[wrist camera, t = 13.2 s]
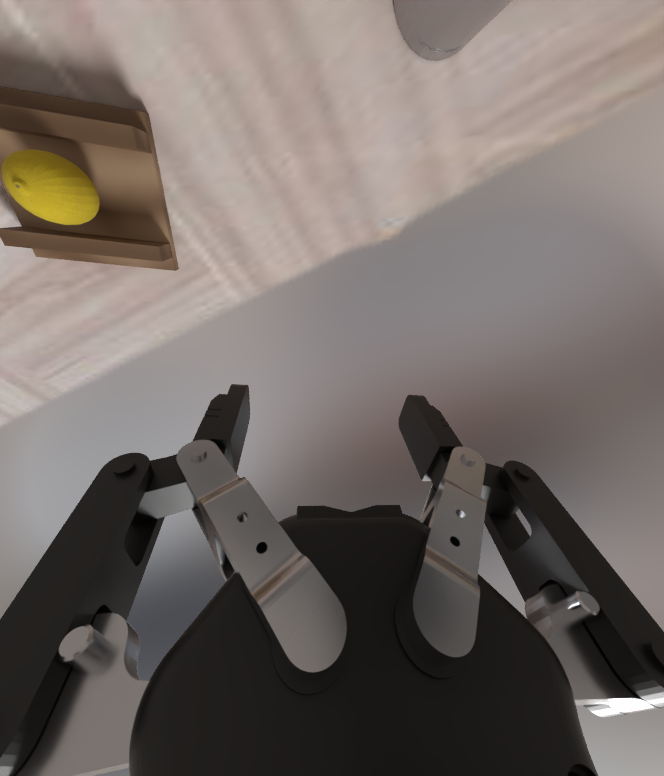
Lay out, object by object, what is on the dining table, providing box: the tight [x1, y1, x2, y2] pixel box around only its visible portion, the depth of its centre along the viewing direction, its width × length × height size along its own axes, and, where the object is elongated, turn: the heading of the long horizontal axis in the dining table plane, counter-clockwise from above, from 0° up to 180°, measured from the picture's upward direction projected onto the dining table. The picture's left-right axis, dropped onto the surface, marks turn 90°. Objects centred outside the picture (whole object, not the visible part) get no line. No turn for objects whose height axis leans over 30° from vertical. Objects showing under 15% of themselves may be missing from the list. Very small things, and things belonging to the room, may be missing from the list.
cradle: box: [0, 86, 178, 271], centre depth 27 cm, size 14×15×4 cm
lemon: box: [1, 149, 100, 225], centre depth 24 cm, size 6×6×8 cm
